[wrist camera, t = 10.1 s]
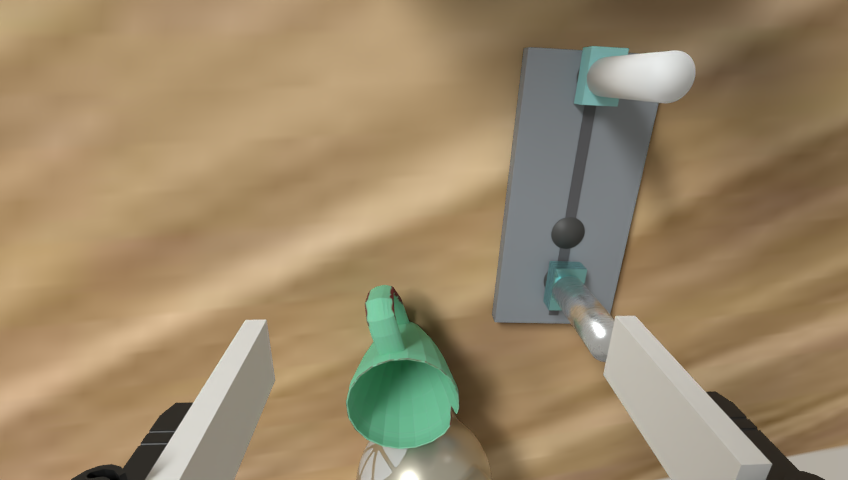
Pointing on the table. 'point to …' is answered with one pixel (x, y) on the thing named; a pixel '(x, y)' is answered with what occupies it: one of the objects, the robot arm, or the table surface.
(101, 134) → the table surface
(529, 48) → the grey and teal piece
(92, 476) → the robot arm
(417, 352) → the mug
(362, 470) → the teapot
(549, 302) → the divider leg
